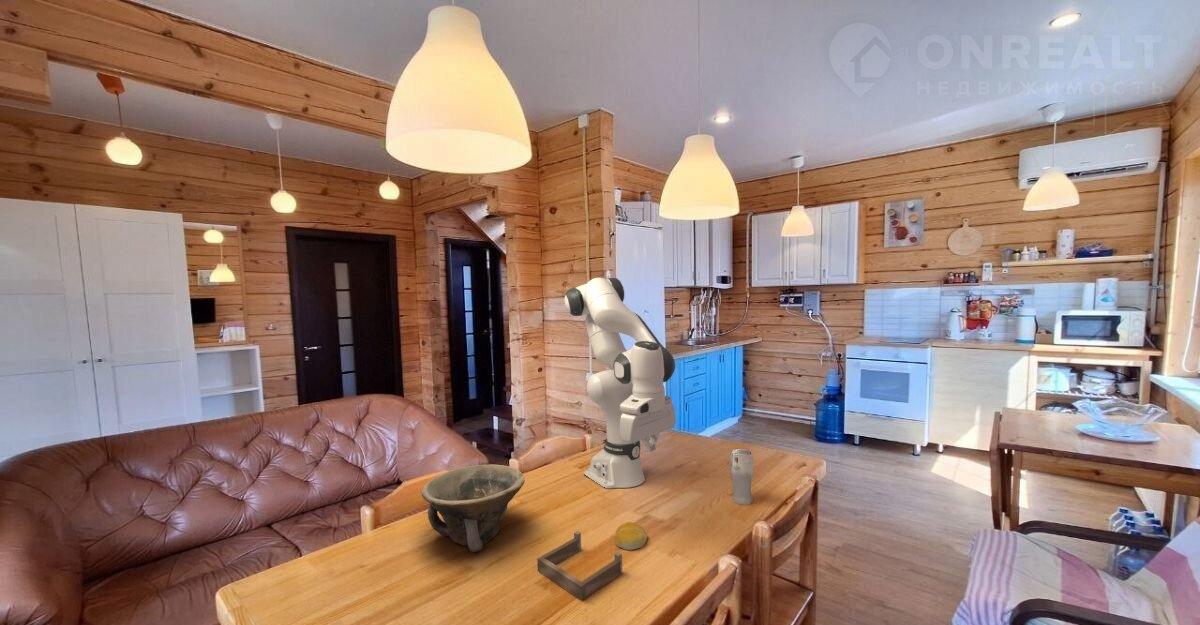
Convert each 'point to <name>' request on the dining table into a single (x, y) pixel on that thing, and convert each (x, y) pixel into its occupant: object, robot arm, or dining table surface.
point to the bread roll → (630, 536)
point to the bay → (568, 581)
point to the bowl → (471, 502)
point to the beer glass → (741, 475)
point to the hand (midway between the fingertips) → (650, 450)
